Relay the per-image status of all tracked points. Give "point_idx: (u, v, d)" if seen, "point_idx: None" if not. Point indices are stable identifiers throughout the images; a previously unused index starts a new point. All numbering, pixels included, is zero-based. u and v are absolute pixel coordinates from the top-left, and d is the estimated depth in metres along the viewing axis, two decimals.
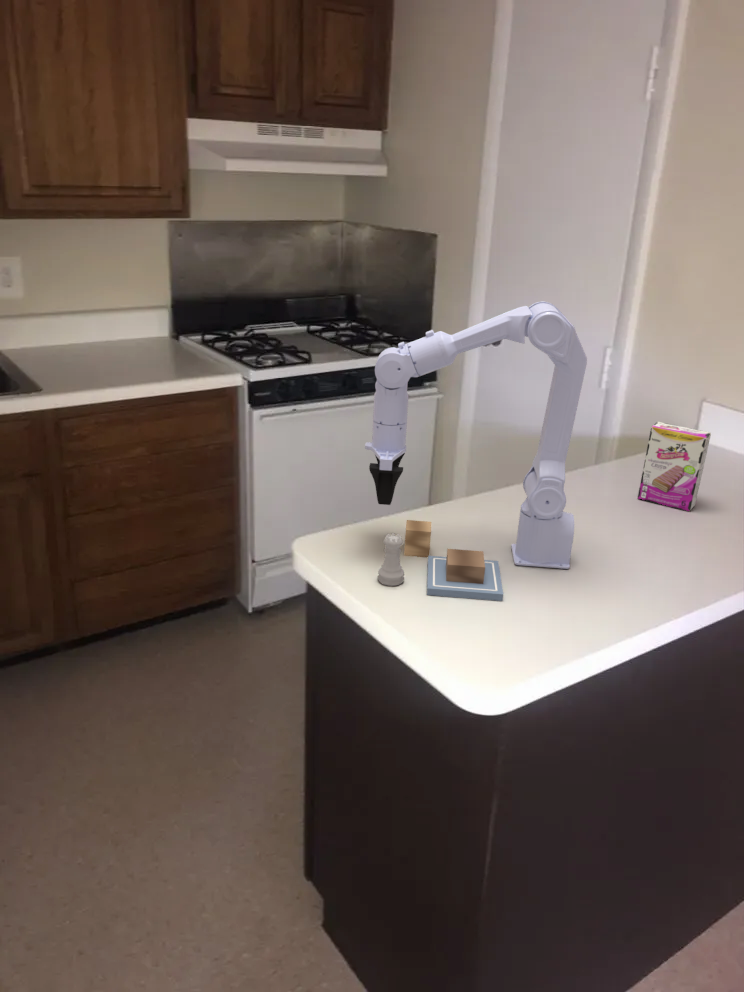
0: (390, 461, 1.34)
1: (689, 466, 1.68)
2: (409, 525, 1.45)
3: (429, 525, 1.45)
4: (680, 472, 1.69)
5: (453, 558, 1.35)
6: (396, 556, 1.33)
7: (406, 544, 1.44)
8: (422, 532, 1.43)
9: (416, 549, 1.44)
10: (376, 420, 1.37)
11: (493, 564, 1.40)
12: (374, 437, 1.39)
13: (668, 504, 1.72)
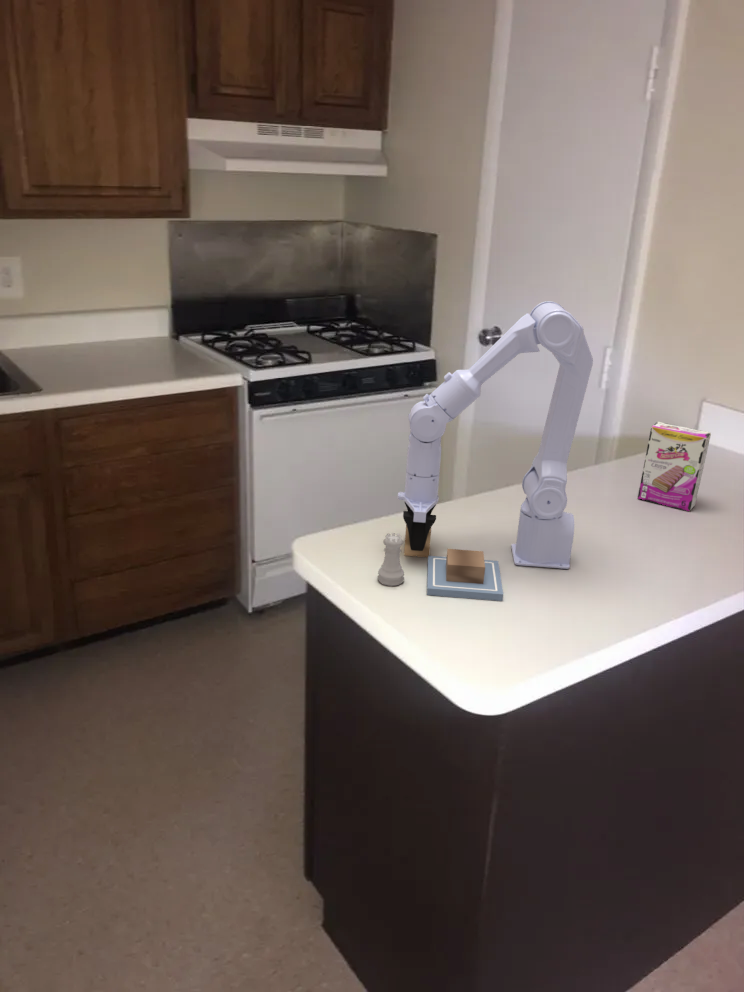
0: (424, 513, 1.36)
1: (689, 466, 1.68)
2: None
3: None
4: (680, 472, 1.69)
5: (453, 558, 1.35)
6: (396, 556, 1.33)
7: (406, 544, 1.44)
8: None
9: None
10: (410, 472, 1.39)
11: (493, 564, 1.40)
12: (407, 488, 1.41)
13: (668, 504, 1.72)
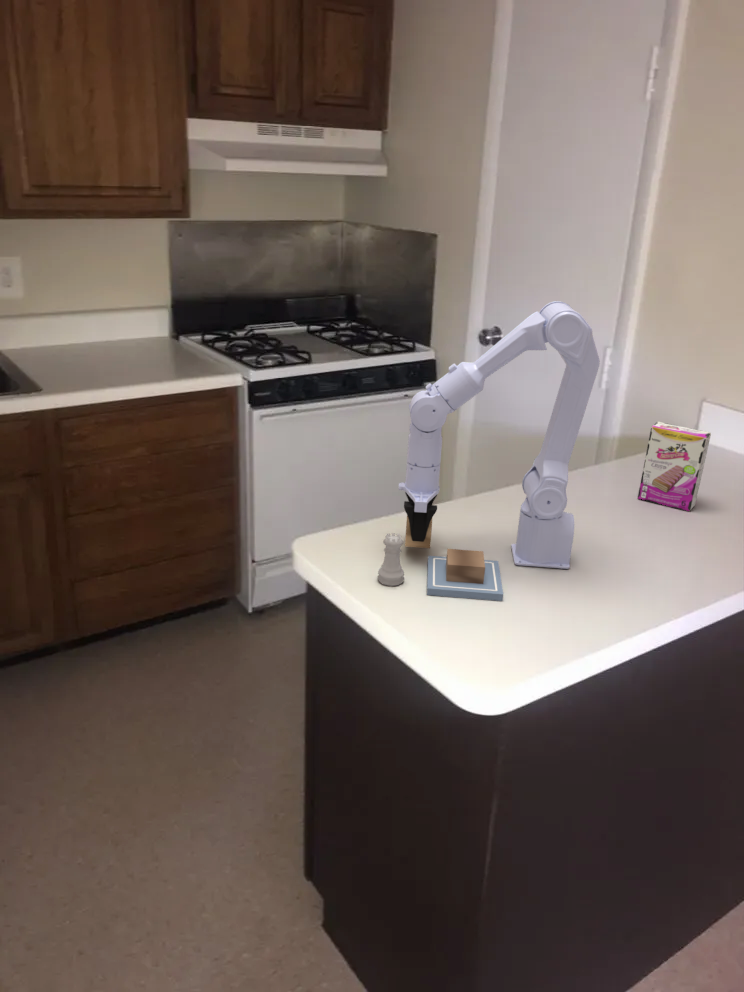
0: (425, 503, 1.35)
1: (689, 465, 1.68)
2: None
3: None
4: (680, 472, 1.69)
5: (453, 558, 1.35)
6: (396, 556, 1.33)
7: (407, 534, 1.43)
8: None
9: None
10: (411, 462, 1.39)
11: (493, 564, 1.40)
12: (408, 478, 1.40)
13: (668, 504, 1.72)
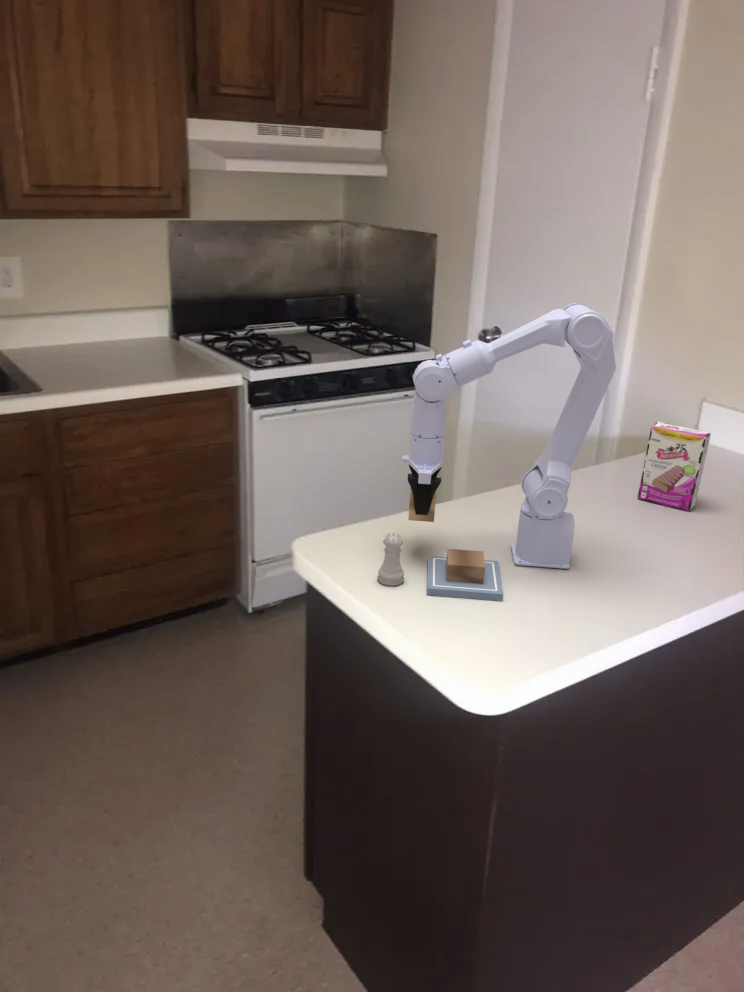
0: (429, 475, 1.33)
1: (689, 465, 1.68)
2: None
3: None
4: (680, 472, 1.69)
5: (453, 558, 1.35)
6: (396, 556, 1.33)
7: (410, 508, 1.41)
8: None
9: None
10: (415, 433, 1.36)
11: (493, 564, 1.40)
12: (412, 450, 1.38)
13: (668, 504, 1.72)
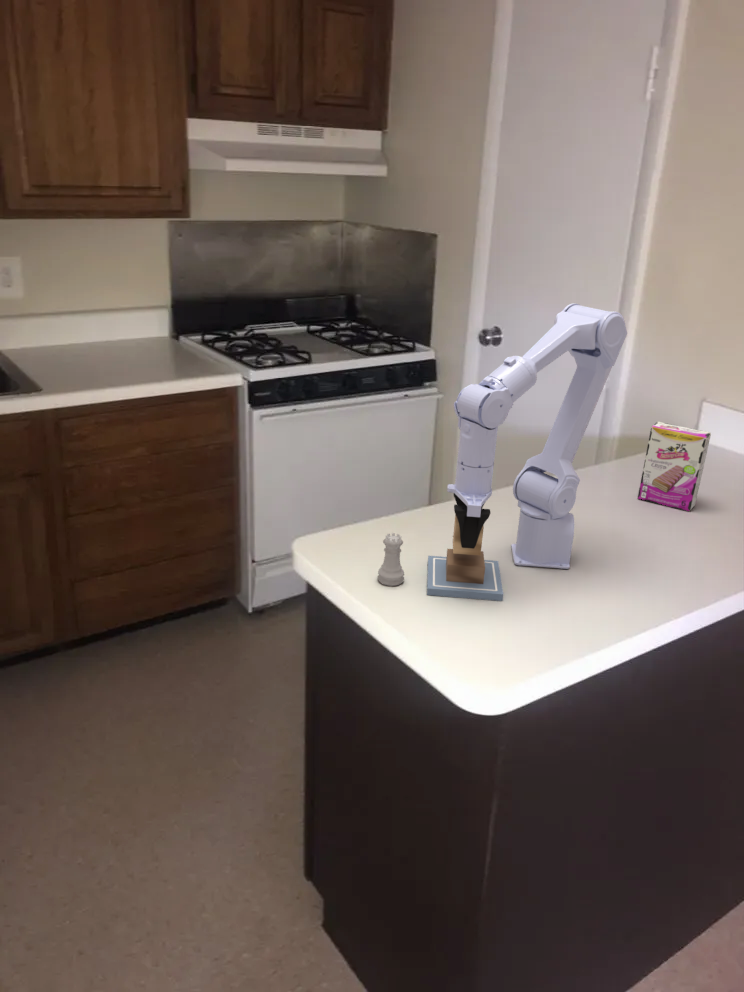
0: (479, 507, 1.24)
1: (689, 465, 1.68)
2: None
3: None
4: (680, 472, 1.69)
5: (453, 558, 1.35)
6: (396, 556, 1.33)
7: (456, 540, 1.32)
8: None
9: None
10: (473, 465, 1.27)
11: (493, 564, 1.40)
12: (458, 479, 1.29)
13: (668, 504, 1.72)
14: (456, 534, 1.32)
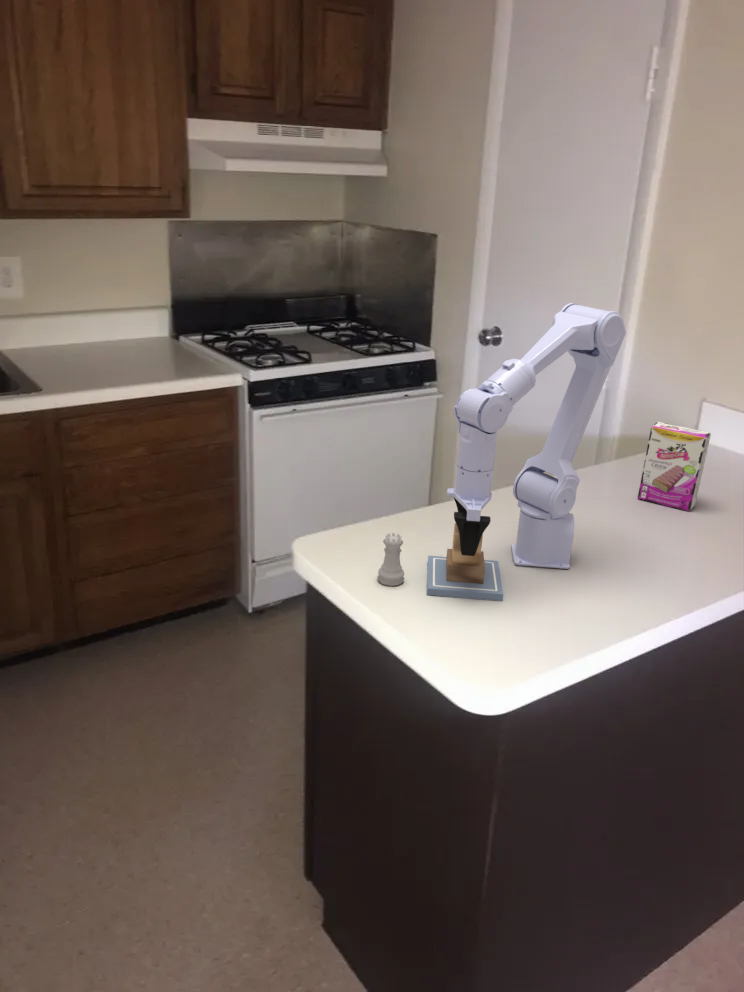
0: (479, 511, 1.25)
1: (689, 465, 1.68)
2: None
3: None
4: (680, 472, 1.69)
5: None
6: (396, 556, 1.33)
7: (455, 550, 1.33)
8: None
9: (465, 555, 1.33)
10: (472, 469, 1.27)
11: (493, 564, 1.40)
12: (458, 484, 1.29)
13: (668, 504, 1.72)
14: (455, 543, 1.32)
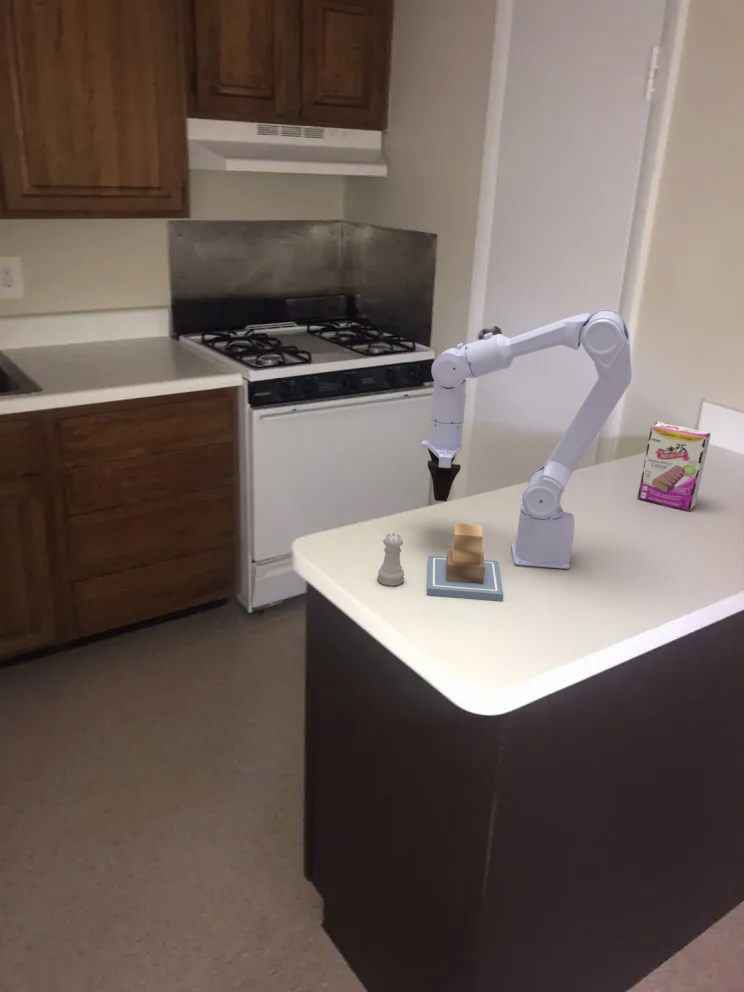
0: (449, 459, 1.38)
1: (689, 465, 1.68)
2: (458, 529, 1.34)
3: (479, 529, 1.34)
4: (680, 472, 1.69)
5: None
6: (396, 556, 1.33)
7: (455, 550, 1.33)
8: (472, 537, 1.32)
9: (465, 555, 1.33)
10: (432, 417, 1.42)
11: (493, 564, 1.40)
12: (431, 435, 1.42)
13: (668, 504, 1.72)
14: (455, 543, 1.32)
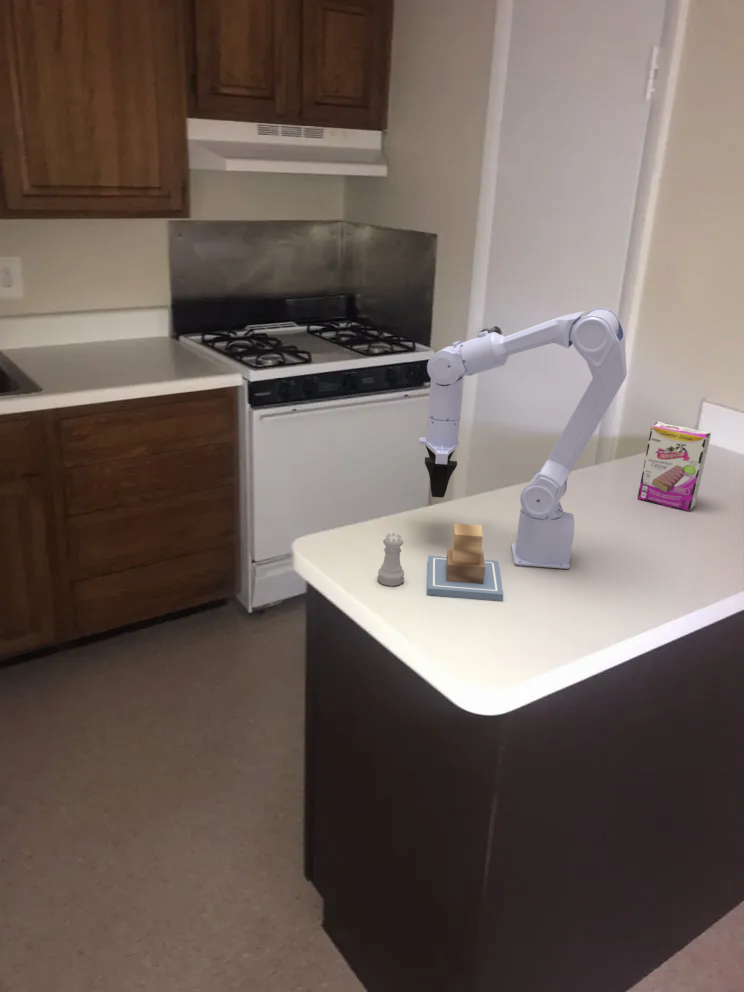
0: (446, 455, 1.40)
1: (689, 466, 1.68)
2: (458, 529, 1.34)
3: (479, 529, 1.34)
4: (680, 472, 1.69)
5: None
6: (396, 556, 1.33)
7: (455, 550, 1.33)
8: (472, 537, 1.32)
9: (465, 555, 1.33)
10: (428, 414, 1.44)
11: (493, 564, 1.40)
12: (429, 432, 1.44)
13: (668, 504, 1.72)
14: (455, 543, 1.32)
